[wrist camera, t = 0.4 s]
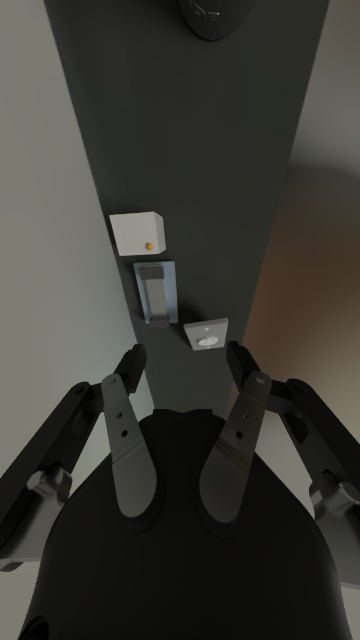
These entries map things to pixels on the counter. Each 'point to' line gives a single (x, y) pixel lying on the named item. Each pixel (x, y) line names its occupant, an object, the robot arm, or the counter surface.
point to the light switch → (207, 333)
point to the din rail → (156, 294)
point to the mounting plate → (169, 289)
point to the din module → (138, 233)
